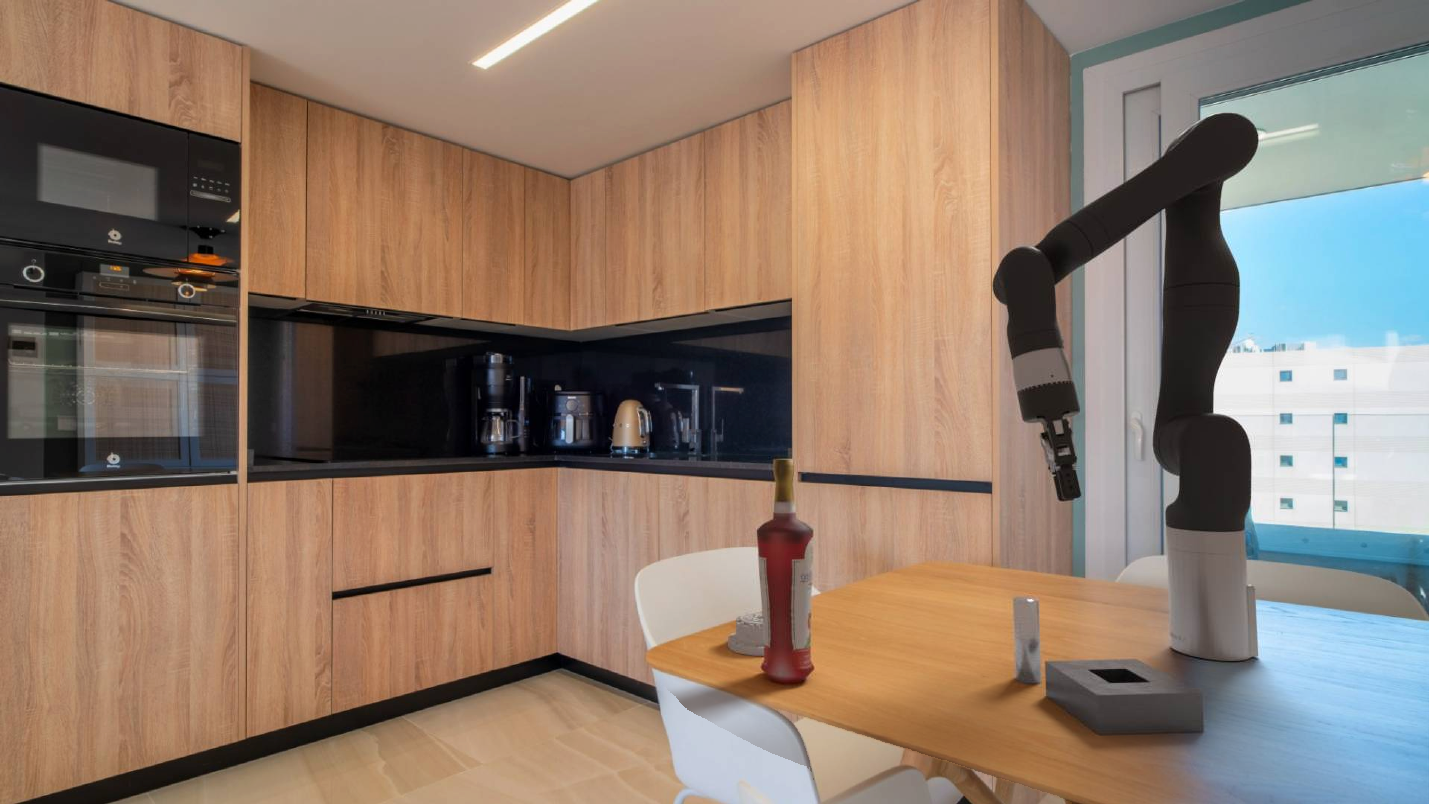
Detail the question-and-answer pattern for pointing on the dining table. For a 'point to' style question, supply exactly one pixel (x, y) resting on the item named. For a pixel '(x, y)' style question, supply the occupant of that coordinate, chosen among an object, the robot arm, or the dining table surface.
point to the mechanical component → (748, 635)
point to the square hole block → (1124, 697)
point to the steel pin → (1027, 640)
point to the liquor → (786, 584)
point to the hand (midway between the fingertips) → (1069, 499)
